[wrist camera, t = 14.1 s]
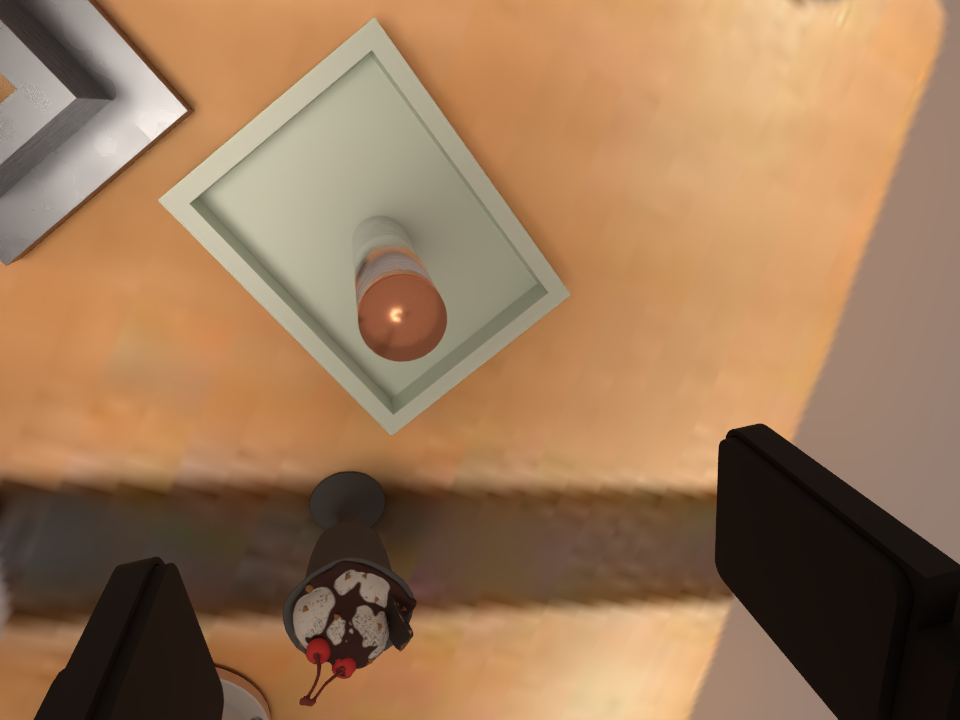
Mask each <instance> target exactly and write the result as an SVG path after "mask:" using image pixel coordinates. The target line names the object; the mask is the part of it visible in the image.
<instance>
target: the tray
mask: <svg viewBox="0 0 960 720" xmlns="http://www.w3.org/2000/svg"><path fill="white" fill-rule="evenodd" d="M158 201H159V202H160V203H161V204H162V205H163V206H164V207H165V208H166V209H167V210H168V211H169V212H170V213H171V214H172V215H173V216H174V217H175V218H176V219H177V220H178V221H179V222H180V223H181V224H182V225H183V226H184V227H185V228H186V229H187V230H188V231H189V232H190V233H191V234H192V235H193V236H194V237H195V238H196V239H197V240H198V241H199V242H200V243H201V244H202V245H203V246H204V247H205V248H206V249H207V250H208V251H209V252H210V254H211V255H212V256H213V257H214V258H215V259H216V260H217V261H218V262H219V263H220V264H221V265H222V266H223V267H224V268H225V269H226V270H227V271H228V272H229V273H230V274H231V275H232V276H233V277H234V278H235V279H236V280H237V281H238V282H239V283H240V284H241V285H242V286H243V287H244V288H245V289H246V290H247V291H248V292H249V293H250V294H251V295H252V296H253V297H254V298H255V299H256V300H257V301H258V302H259V303H260V304H261V305H262V306H263V307H264V308H265V309H266V310H267V311H268V312H269V313H270V314H271V315H272V316H273V317H274V318H275V319H276V320H277V321H278V322H279V323H280V324H281V325H282V326H283V327H284V328H285V329H286V330H287V331H288V332H289V333H290V334H291V335H292V336H293V337H294V338H295V339H296V340H297V341H298V342H299V343H300V344H301V345H302V346H303V347H304V349H305V350H306V351H307V352H308V353H309V354H310V355H311V356H312V357H313V358H314V359H315V360H316V361H317V362H318V363H319V364H320V365H321V366H322V367H323V368H324V369H325V370H326V371H327V372H328V373H329V374H330V375H331V376H332V377H333V378H334V379H335V380H336V381H337V382H338V383H339V384H340V385H341V386H342V387H343V388H344V389H345V390H346V391H347V392H348V393H349V394H350V395H351V396H352V397H353V398H354V399H355V400H356V401H357V402H358V403H359V404H360V405H361V406H362V407H363V408H364V409H365V410H366V411H367V412H368V413H369V414H370V415H371V416H372V417H373V418H374V419H375V420H376V421H377V422H378V423H379V424H380V425H381V426H382V427H383V428H384V429H385V430H386V431H387V432H388V433H389V434H390V435H391V436H392V435H393V434H395V433H396V432H397V431H398V430H400V429H401V428H402V427H404V426H405V425H406V424H407V423H409V422H410V421H411V420H413V419H414V418H415V417H416V416H418V415H419V414H420V413H421V412H423V411H424V410H425V409H427V408H428V407H429V406H430V405H432V404H433V403H434V402H435V401H437V400H438V399H439V398H441V397H442V396H443V395H444V394H446V393H447V392H448V391H449V390H451V389H452V388H453V387H455V386H456V385H457V384H458V383H460V382H461V381H462V380H463V379H465V378H466V377H467V376H469V375H470V374H471V373H472V372H474V371H475V370H476V369H477V368H479V367H480V366H481V365H483V364H484V363H485V362H486V361H488V360H489V359H490V358H491V357H493V356H494V355H495V354H497V353H498V352H499V351H500V350H502V349H503V348H504V347H505V346H507V345H508V344H509V343H511V342H512V341H513V340H514V339H516V338H517V337H518V336H519V335H521V334H522V333H523V332H525V331H526V330H527V329H528V328H530V327H531V326H532V325H533V324H535V323H536V322H537V321H539V320H540V319H541V318H542V317H544V316H545V315H546V314H548V313H549V312H550V311H551V310H553V309H554V308H555V307H556V306H558V305H559V304H560V303H562V302H563V301H564V300H565V299H567V298H568V297H569V296H570V295H571V294H570V292H569V291H568V290H567V288H566V287H565V285H564V284H563V282H562V281H561V280H560V278H559V277H558V275H557V274H556V273H555V271H554V270H553V268H552V267H551V266H550V264H549V263H548V261H547V260H546V258H545V257H544V256H543V254H542V253H541V251H540V250H539V249H538V247H537V246H536V244H535V243H534V242H533V240H532V239H531V237H530V236H529V234H528V233H527V232H526V230H525V229H524V227H523V226H522V225H521V223H520V222H519V220H518V219H517V218H516V216H515V215H514V213H513V212H512V210H511V209H510V208H509V206H508V205H507V203H506V202H505V201H504V199H503V198H502V196H501V195H500V194H499V192H498V191H497V189H496V188H495V186H494V185H493V184H492V182H491V181H490V179H489V178H488V177H487V175H486V174H485V172H484V171H483V170H482V168H481V167H480V165H479V164H478V162H477V161H476V160H475V158H474V157H473V155H472V154H471V153H470V151H469V150H468V148H467V147H466V146H465V144H464V143H463V141H462V140H461V138H460V137H459V136H458V134H457V133H456V131H455V130H454V129H453V127H452V126H451V124H450V123H449V122H448V120H447V119H446V117H445V116H444V115H443V113H442V112H441V110H440V109H439V107H438V106H437V105H436V103H435V102H434V100H433V99H432V98H431V96H430V95H429V93H428V92H427V91H426V89H425V88H424V86H423V85H422V83H421V82H420V81H419V79H418V78H417V76H416V75H415V74H414V72H413V71H412V69H411V68H410V67H409V65H408V64H407V62H406V61H405V59H404V58H403V57H402V55H401V54H400V52H399V51H398V50H397V48H396V47H395V45H394V44H393V43H392V41H391V40H390V38H389V37H388V35H387V34H386V33H385V31H384V30H383V28H382V27H381V26H380V24H379V23H378V21H377V20H376V19H375V17H374V18H372V19H371V20H370V21H369V22H368V23H367V24H365V25H364V26H363V27H362V28H361V29H359V30H358V31H357V32H356V33H355V34H354V35H352V36H351V37H350V38H349V39H348V40H346V41H345V42H344V43H343V44H342V45H341V46H339V47H338V48H337V49H336V50H335V51H333V52H332V53H331V54H330V55H329V56H328V57H326V58H325V59H324V60H323V61H322V62H320V63H319V64H318V65H317V66H316V67H315V68H313V69H312V70H311V71H310V72H309V73H307V74H306V75H305V76H304V77H303V78H302V79H300V80H299V81H298V82H297V83H296V84H294V85H293V86H292V87H291V88H290V89H289V90H287V91H286V92H285V93H284V94H283V95H281V96H280V97H279V98H278V99H277V100H276V101H274V102H273V103H272V104H271V105H270V106H268V107H267V108H266V109H265V110H264V111H263V112H261V113H260V114H259V115H258V116H257V117H255V118H254V119H253V120H252V121H251V122H250V123H248V124H247V125H246V126H245V127H244V128H242V129H241V130H240V131H239V132H238V133H237V134H235V135H234V136H233V137H232V138H231V139H229V140H228V141H227V142H226V143H225V144H224V145H222V146H221V147H220V148H219V149H218V150H216V151H215V152H214V153H213V154H212V155H211V156H209V157H208V158H207V159H206V160H205V161H203V162H202V163H201V164H200V165H199V166H198V167H196V168H195V169H194V170H193V171H192V172H190V173H189V174H188V175H187V176H186V177H185V178H183V179H182V180H181V181H180V182H179V183H177V184H176V185H175V186H174V187H173V188H172V189H170V190H169V191H168V192H167V193H166V194H164V195H163V196H162V197H161V198H160V199H159V200H158ZM374 216H386V217H390V218H392V219H394V220H396V221H397V222H398V223H400V224H401V226H402V227H403V228H404V229H405V231H406V233H407V235H408V237H409V239H410V240H411V242H412V244H413V246H414V248H415V250H416V252H417V253H418V255H419V257H420V259H421V261H422V263H423V264H424V266H425V268H426V270H427V272H428V274H429V276H430V277H431V279H432V281H433V283H434V285H435V287H436V289H437V290H438V292H439V294H440V296H441V298H442V300H443V302H444V304H445V307H446V311H447V326H446V330H445V333H444V335H443V337H442V339H441V341H440V342H439V344H438V345H437V346H436V347H435V348H434V349H433V350H432V351H431V352H430V353H428V354H427V355H425V356H423V357H421V358H419V359H416V360H412V361H406V362H398V361H391V360H388V359H385V358H382V357H381V356H379V355H377V354H376V353H374V352H373V351H372V350H371V349H370V348H369V347H368V346H367V345H366V343H365V342H364V340H363V338H362V336H361V334H360V330H359V325H358V315H357V302H356V290H355V277H354V265H353V253H352V238H353V234H354V232H355V230H356V228H357V227H358V226H359V224H360V223H362V222H363V221H364V220H366V219H368V218H370V217H374Z"/></svg>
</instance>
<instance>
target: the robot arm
mask: <svg viewBox="0 0 960 720" xmlns="http://www.w3.org/2000/svg"><path fill="white" fill-rule="evenodd" d="M715 563H716V567H717V570H718V573H719V575H720V577H721V578H722V580H723V581H724V582H725V584H726V585H727V586H728V587H729V588H730V590H731V591H732V592H733V593H734V594H735V596H736V597H737V598H738V599H739V600H740V601H741V603H742V604H743V605H744V606H745V608H746V609H747V610H748V611H749V612H750V614H751V615H752V616H753V617H754V618H755V620H756V621H757V622H758V623H759V624H760V626H761V627H762V628H763V629H764V630H765V632H766V633H767V634H768V635H769V637H770V638H771V639H772V640H773V641H774V643H775V644H776V645H777V646H778V647H779V649H780V650H781V651H782V652H783V653H784V654H785V656H786V657H787V658H788V659H789V661H790V662H791V663H792V664H793V665H794V667H795V668H796V669H797V670H798V671H799V673H800V674H801V675H802V676H803V677H804V679H805V680H806V681H807V682H808V683H809V685H810V686H811V687H812V688H813V690H814V691H815V692H816V693H817V694H818V696H819V697H820V698H821V699H822V700H823V702H824V703H825V704H826V705H827V706H828V708H829V709H830V710H831V711H832V712H833V714H834V715H835V716H836V717H837V718H838V720H960V565H959V564H958V563H957V562H955V561H954V560H953V559H951V558H950V557H948V556H947V555H946V554H944V553H943V552H942V551H940V550H939V549H937V548H936V547H934V546H933V545H932V544H930V543H929V542H928V541H926V540H925V539H923V538H922V537H921V536H919V535H918V534H916V533H915V532H913V531H912V530H911V529H909V528H908V527H907V526H905V525H904V524H902V523H901V522H900V521H898V520H897V519H896V518H894V517H893V516H891V515H890V514H889V513H887V512H886V511H884V510H883V509H882V508H880V507H879V506H877V505H876V504H875V503H873V502H872V501H871V500H869V499H868V498H866V497H865V496H864V495H862V494H861V493H859V492H858V491H857V490H855V489H854V488H852V487H851V486H849V485H848V484H847V483H846V482H844V481H843V480H841V479H840V478H839V477H837V476H836V475H834V474H833V473H832V472H830V471H829V470H827V469H826V468H825V467H823V466H822V465H820V464H819V463H818V462H816V461H815V460H814V459H812V458H811V457H809V456H808V455H806V454H805V453H804V452H802V451H801V450H799V449H798V448H797V447H796V446H794V445H793V444H791V443H790V442H789V441H787V440H786V439H784V438H783V437H782V436H780V435H779V434H777V433H776V432H775V431H773V430H772V429H770V428H769V427H768V426H766V425H764V424H755V425H750V426H746V427H741V428H737V429H732V430H730V431H729V432H728V433H727V435H726V439H725V440H722V441H721V442H720V444H719V454H718V484H717V513H716V542H715ZM34 720H271V715H270V711H269V708H268V704H267V703H266V701H265V699H264V698H263V696H262V694H261V693H260V692H259V691H258V690H257V689H256V688H255V687H254V686H253V685H252V684H251V683H249V682H248V681H246V680H245V679H243V678H242V677H240V676H239V675H236V674H234V673H232V672H229V671H227V670H225V669H221V668H217V667H215V665H214V662H213V660H212V657H211V655H210V652H209V649H208V647H207V644H206V642H205V639H204V636H203V634H202V631H201V628H200V626H199V623H198V621H197V618H196V615H195V613H194V610H193V607H192V605H191V602H190V600H189V597H188V594H187V592H186V589H185V586H184V584H183V581H182V579H181V576H180V573H179V571H178V569H177V567H176V565H175V564H174V563H169V564H164V562H163V560H162V559H161V558H159V557H153V558H148V559H144V560H139V561H135V562H130V563H126V564H121V565H119V566H117V567H116V568H115V570H114V571H113V573H112V575H111V577H110V579H109V581H108V583H107V585H106V587H105V589H104V591H103V593H102V595H101V597H100V599H99V601H98V603H97V605H96V607H95V609H94V611H93V614H92V616H91V618H90V620H89V622H88V624H87V626H86V628H85V630H84V632H83V634H82V636H81V638H80V640H79V642H78V644H77V646H76V648H75V650H74V652H73V654H72V656H71V658H70V660H69V662H68V664H67V666H66V668H65V669H63V670H62V671H61V672H59V674H58V675H57V677H56V678H55V680H54V681H53V683H52V685H51V687H50V689H49V691H48V693H47V695H46V697H45V698H44V700H43V702H42V704H41V706H40V708H39V710H38V712H37V714H36V716H35V718H34Z"/></svg>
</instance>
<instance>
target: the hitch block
mask: <svg viewBox="0 0 960 720" xmlns="http://www.w3.org/2000/svg"><path fill="white" fill-rule="evenodd" d="M0 73H1V74H2V75H3V76H4V77H5V78H6V79H7V80H8V81H9V82H10V83H11V84H12V85H13V86H14V87H15V88H16V89H17V90H16V91H14V92H13V93H12V94H11V95H10V96H9V97H8V98H7V99H5V100H4V101H3V102H2V103H1V104H0V261H2V262H3V263H4V264H5V265H6V266H7V265H9V264H11V263H13V262H15V261H18V260H20V259H21V258H22V257H24V256H25V255H26V254H27V253H28V252H29V251H31V250H32V249H33V248H34V247H35V246H36V245H38V244H39V243H40V242H41V241H42V240H43V239H45V238H46V237H47V236H48V235H49V234H50V233H52V232H53V231H54V230H55V229H56V228H58V227H59V226H60V225H61V224H62V223H63V222H65V221H66V220H67V219H68V218H69V217H70V216H72V215H73V214H74V213H75V212H76V211H77V210H79V209H80V208H81V207H82V206H83V205H84V204H86V203H87V202H88V201H89V200H90V199H91V198H93V197H94V196H95V195H96V194H97V193H98V192H100V191H101V190H102V189H103V188H104V187H105V186H107V185H108V184H109V183H110V182H111V181H113V180H114V179H115V178H116V177H117V176H118V175H120V174H121V173H122V172H123V171H124V170H125V169H127V168H128V167H129V166H130V165H131V164H132V163H134V162H135V161H136V160H137V159H138V158H139V157H141V156H142V155H143V154H144V153H145V152H146V151H148V150H149V149H150V148H151V147H152V146H153V145H155V144H156V143H157V142H158V141H159V140H160V139H162V138H163V137H164V136H165V135H166V134H167V133H169V132H170V131H171V130H172V129H173V128H175V127H176V126H177V125H178V124H179V123H180V122H182V121H183V120H184V119H185V118H186V117H187V116H189V115H190V114H191V113H192V112H193V111H194V110H193V109H192V108H191V107H190V106H189V105H188V104H187V102H186V101H185V100H184V99H183V98H182V97H181V96H180V95H179V94H178V92H177V91H176V90H175V89H174V88H173V87H172V86H171V85H170V83H169V82H168V81H167V80H166V79H165V78H164V77H163V76H162V75H161V73H160V72H159V71H158V70H157V69H156V68H155V67H154V66H153V64H152V63H151V62H150V61H149V60H148V59H147V58H146V57H145V56H144V54H143V53H142V52H141V51H140V50H139V49H138V48H137V47H136V46H135V44H134V43H133V42H132V41H131V40H130V39H129V38H128V37H127V35H126V34H125V33H124V32H123V31H122V30H121V29H120V28H119V27H118V25H117V24H116V23H115V22H114V21H113V20H112V19H111V18H110V16H109V15H108V14H107V13H106V12H105V11H104V10H103V9H102V8H101V6H100V5H99V4H98V3H97V2H96V1H95V0H0Z"/></svg>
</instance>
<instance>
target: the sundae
mask: <svg viewBox="0 0 960 720" xmlns="http://www.w3.org/2000/svg"><path fill="white" fill-rule="evenodd" d="M384 508H385V495H384V493H383V490H382V489H381V487H380V485H379V484H378V483H377V482H376V481H375V480H373V479H372V478H370V477H369V476H367V475H364V474H361V473H356V472H343V473H338V474H335V475H332V476H330V477H328V478H326V479H324V480H323V481H322V482H321V483H320V484H319V485H318V486H317V487H316V488H315V489H314V491H313V493H312V495H311V498H310V513H311V516H312V518H313V519H314V521H315V522H316V524H317V525H318V526H320V527H321V528H322V529H324V530H326V531H325V532H324V533H323V534H322V535H321V536H320V538H319V539H318V541H317V543H316V545H315V548H314V550H313V553H312V555H311V558H310V562H309V566H308V570H307V573H306V577H305V579H304V580H303V581H302V582H301V583H300V584H299V585H298V586H297V587H296V588H295V589H294V590H293V591H292V593H291V594H290V596H289V597H288V599H287V600H286V602H285V604H284V608H283V621H284V625H285V629H286V632H287V634H288V636H289V637H290V639H291V641H292V642H293V643H294V645H295V646H296V648H298V649H299V650H300V651H302V652H303V653H305V654H306V657H307V659H308V660H309V661H310V662H311V663H313V664H317V676H316V679H315V682H314V685H313V687H312V689H311V690H310V692H309V693H308V695H307V696H304V697H303V698H301V699H300V705H306V706H313V705H314V704H315V703H316V698H317V697H318V696H319V694H320V693H321V691H322V690H323V689H324V687H325V686H326V685H327V684H328V683H329V682H331V681H332V680H333V679H334V678H336V677H339V678H343V679H346V678H349V677H350V676H351V675H352V674H353V673H354V671H355V670H356V669H360V668H363V667H365V666H367V665H368V664H371V663H372V662H373V660H375V659H376V658H377V657H378V656H379V655H380V654H381V653H382V652H383V651H385V650H387V649H388V648H389V647H391V646H392V645H394V646H395V647H396V648H397V649H398V650H399V651H402V650H403V649H404V648H405V646H406V645H407V644H408V643H409V641H410V639H411V638H412V637H413V631H412V629H411V627H410V625H409V622H410V619H411V617H412V612H413V609H414V608H415V606H416V600H415V599H414V598H413V594H412V591H411V590H410V588H409V587H408V585H407V584H406V583H405V582H404V580H403V579H401V578H400V577H399V576H398V575H396V574H395V573H394V572H392V570H391V567H390V564H389V560H388V557H387V554H386V550H385V548H384V546H383V544H382V542H381V540H380V538H379V536H378V535H377V533H376V532H375V531H374V530H373V529H372V528H370V527H371V526H373V525H374V524H375V523H376V522H377V521H378V520H379V519H380V517H381V515H382V513H383V510H384ZM325 662H330V663H331V664H332V671H333V674H335V675H333V676H332V677H331V678H330V679H328V680H327V681H326V682H325V683H324V685H323V686H322V687H321V689H320V690H319V692H318V693H317V694H316V696H315V697H314V698H313V699H310V696H311V694H312V692H313V690H314V688H315V686H316V685H317V682H318V679H319V677H320V671H321V664H323V663H325Z"/></svg>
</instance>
